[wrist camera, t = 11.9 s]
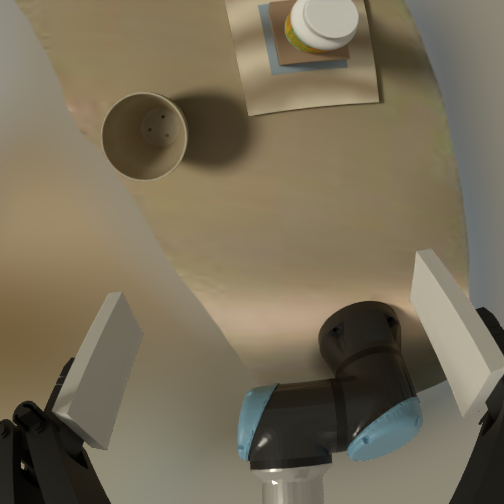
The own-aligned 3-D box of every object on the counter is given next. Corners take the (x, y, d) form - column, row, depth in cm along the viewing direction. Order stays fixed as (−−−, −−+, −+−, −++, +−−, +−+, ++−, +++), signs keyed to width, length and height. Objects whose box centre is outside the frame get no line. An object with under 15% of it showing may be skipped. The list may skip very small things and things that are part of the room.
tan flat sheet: (376, 101, 34) (379, 102, 33) (248, 115, 36) (248, 116, 35) (353, -30, 25) (356, -32, 24) (221, -19, 27) (220, -22, 26)
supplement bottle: (275, 40, 26) (281, 26, 18) (297, -2, 23) (312, -30, 15) (324, 63, 27) (350, 60, 19) (346, 21, 25) (379, 5, 16)
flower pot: (204, 91, 34) (193, 95, 28) (194, 167, 40) (182, 187, 34) (127, 86, 34) (102, 90, 28) (122, 159, 39) (99, 177, 33)
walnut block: (338, 60, 31) (350, 58, 27) (278, 65, 32) (281, 64, 27) (328, 6, 27) (338, -3, 23) (268, 11, 28) (269, 2, 24)
